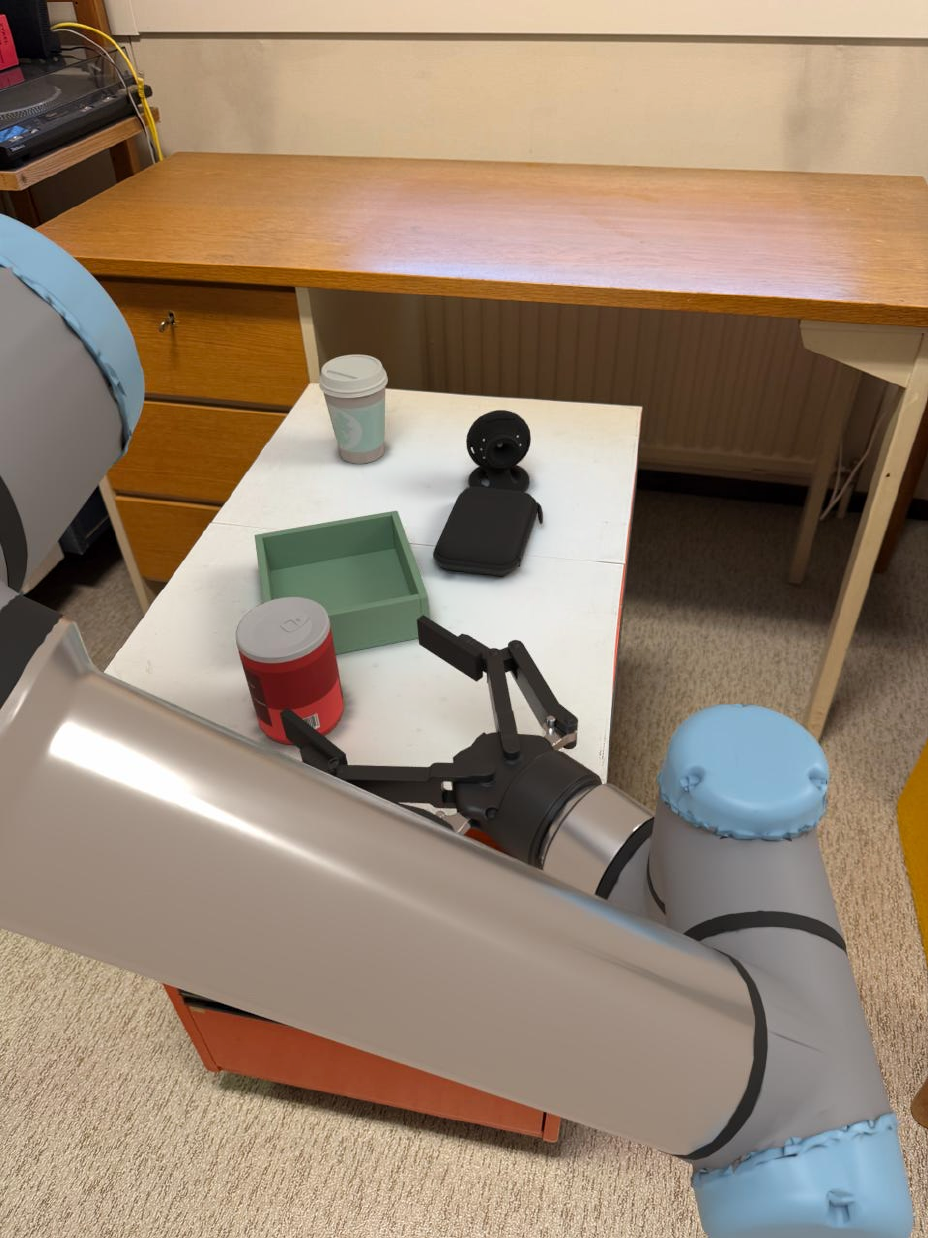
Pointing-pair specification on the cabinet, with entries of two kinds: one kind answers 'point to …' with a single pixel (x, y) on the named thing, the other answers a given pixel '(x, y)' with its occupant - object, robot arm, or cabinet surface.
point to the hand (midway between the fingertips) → (357, 673)
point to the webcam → (499, 450)
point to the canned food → (290, 664)
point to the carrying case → (487, 531)
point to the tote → (349, 577)
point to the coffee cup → (356, 405)
